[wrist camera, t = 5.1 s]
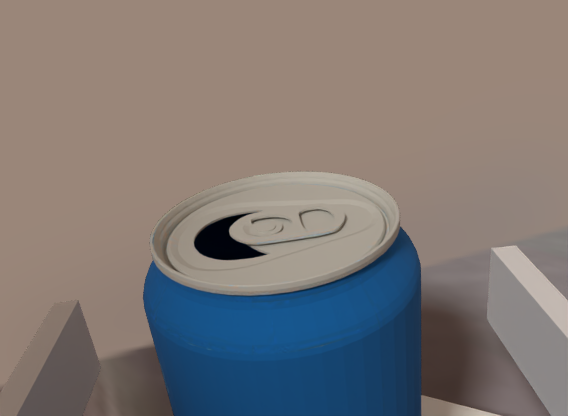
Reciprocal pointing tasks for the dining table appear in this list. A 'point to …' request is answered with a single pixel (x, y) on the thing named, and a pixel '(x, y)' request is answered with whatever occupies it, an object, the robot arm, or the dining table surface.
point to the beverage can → (287, 300)
